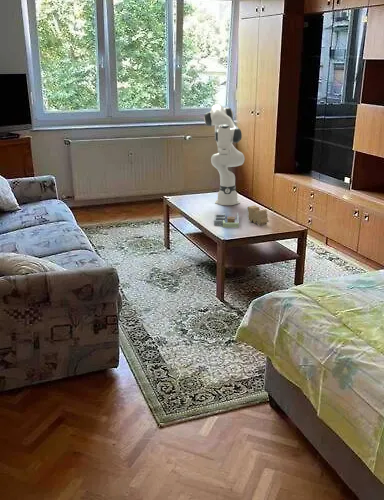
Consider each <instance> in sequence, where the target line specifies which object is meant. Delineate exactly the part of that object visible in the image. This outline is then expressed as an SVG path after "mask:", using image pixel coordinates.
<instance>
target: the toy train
mask: <svg viewBox="0 0 384 500" xmlns="http://www.w3.org/2000/svg"><path fill="white" fill-rule="evenodd" d="M260 208H261V207H260V206H257V205H250V206H247V212H248V213H247V215H248V216H247V218H248V221H249V223H250V222H251V223H252V222H253V223H254V224H257V225H258V226H263V225H266V224H267V223H270V222H269V221H270V220H269V218H268V213H267V212H268V211H267V209H260Z"/></svg>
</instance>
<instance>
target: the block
mask: <svg viewBox="0 0 384 500" xmlns="http://www.w3.org/2000/svg"><path fill="white" fill-rule="evenodd" d="M235 218H236V217H235V216H227V217H226V223H236V219H235Z"/></svg>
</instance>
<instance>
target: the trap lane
mask: <svg viewBox="0 0 384 500" xmlns="http://www.w3.org/2000/svg"><path fill="white" fill-rule="evenodd" d="M239 218H240V217H239V212H236V222H235V223H227V222H226V212H223V213H222V214H217V213H216V214H214V219H213V225H214V226H222V228H226V229H229V228H230V229H232V228H235V229H236V228H237V229H239V228H240V225H239V224H240V222H239V221H240V219H239Z"/></svg>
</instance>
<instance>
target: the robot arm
mask: <svg viewBox="0 0 384 500" xmlns="http://www.w3.org/2000/svg"><path fill="white" fill-rule="evenodd" d="M203 122H204V123H205V125H206V126H207V127H212V126H214V141H215V142H216V145H217V153H213V154H212V155H211V158H210V161H211V162H210V163H211V165H212V167H214V168H215V169H216V170H217V171H218V173H219V180H220V181H219V182H220V184H219V191H218V192H217V200H215V204H217V205H220V206H221V205H222V206H233V205H237V204H240V203H241V201H240V200H239V199H238V192H237V191H236V187H237V186H236V176H235V173H233V172H232V171H230V170H229V168H231V167H233V168H234V167H235V168H236V167H239V166H242V165H243V164H244V163H245V160H246V159H245V155H244V153H243V152H242V151H240V150H238V149H237V148H236V147H235V146H234V144H233V143H235V144H238V143H239V142H240V141H241V140H242V137H243V135H242V134H243V133H242V129H241V128H239V126H237V123H236V122H235V120H234V112H233V110H232V108H231V107H224V106H223V105H221V104H220V103H219V104H218V103H216V104H214V105H212V106H211V108H210V111H207V112H205V114H204V115H203Z"/></svg>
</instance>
